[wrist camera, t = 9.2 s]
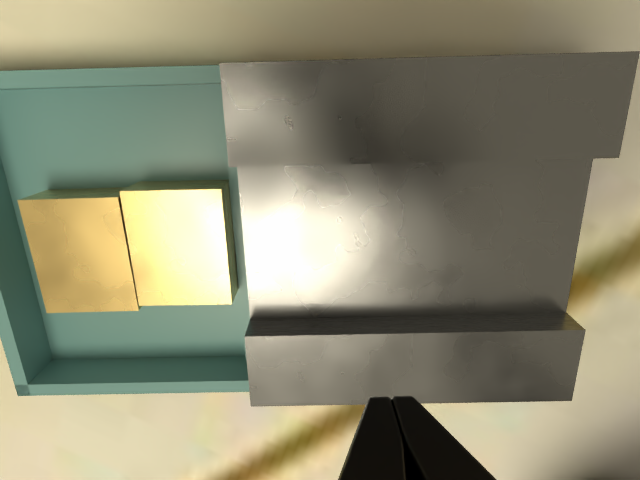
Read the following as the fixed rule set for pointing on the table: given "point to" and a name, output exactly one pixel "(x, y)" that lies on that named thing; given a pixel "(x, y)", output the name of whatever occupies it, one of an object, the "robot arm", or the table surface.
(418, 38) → the table surface
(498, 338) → the slotted plate
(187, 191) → the brass chip
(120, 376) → the tray
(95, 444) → the table surface
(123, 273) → the brass chip
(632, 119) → the table surface
